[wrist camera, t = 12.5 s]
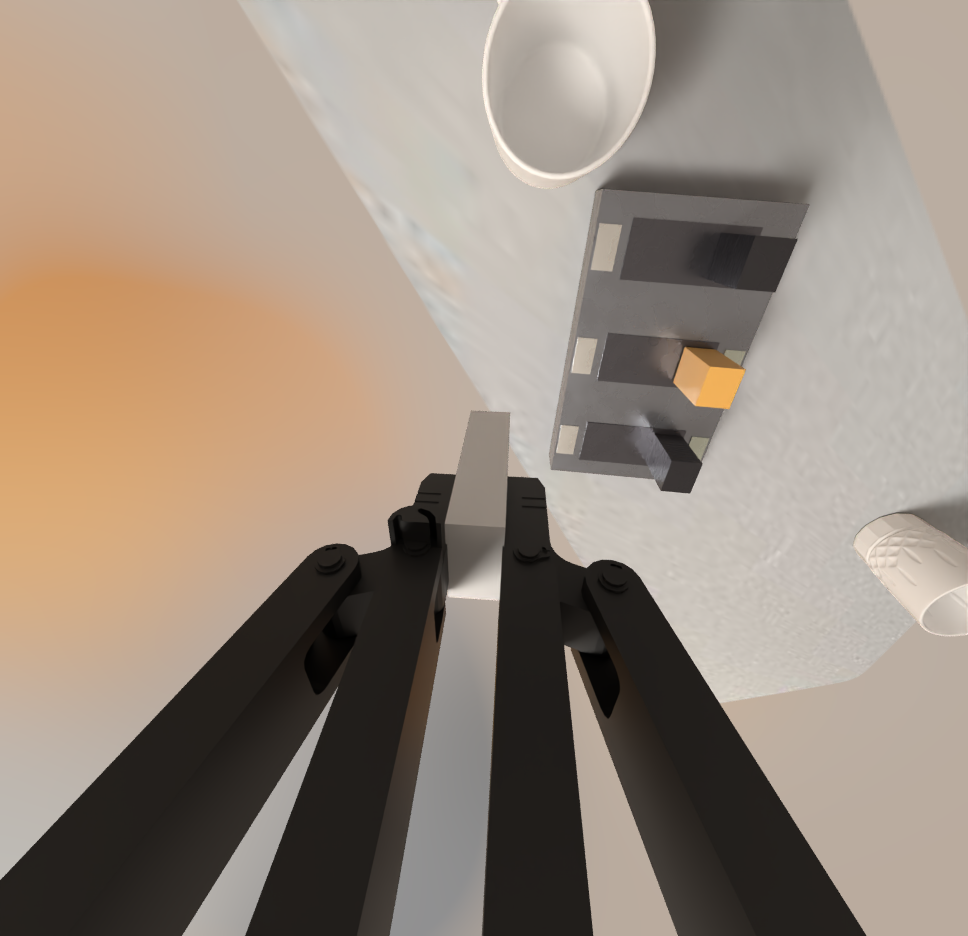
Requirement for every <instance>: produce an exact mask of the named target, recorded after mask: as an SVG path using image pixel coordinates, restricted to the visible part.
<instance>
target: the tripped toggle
mask: <svg viewBox="0 0 968 936" xmlns="http://www.w3.org/2000/svg"><path fill="white" fill-rule="evenodd" d="M745 370H746V369H744V368H743V367H741V366H740V365H738V364H737V363H735V362H734V361H732V360H731V359H729V358H728V357H726V356H725V355H723V354H722V353H720V352H719V351H717V350H715V349H703V348H691V347H685V348H684V351H683V354H682V357H681V360H680V363H679V366H678V369H677V372H676V375H675V378H674V381H673V383H674V384H675V385H676V386H677V387H678V388H679V389H680V390H681V391H682V392H683V394H684V395H685V396H686V397H687V398H688V399H689V400H690V401H691V402H692V403H693V404H694V405H695V406H701V407H712V408H724V409H729V408H730V406H731V403H732V401H733V399H734V396H735V394H736V392H737V389H738V387H739V384H740V382H741V380H742V377H743V375H744V373H745Z"/></svg>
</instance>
